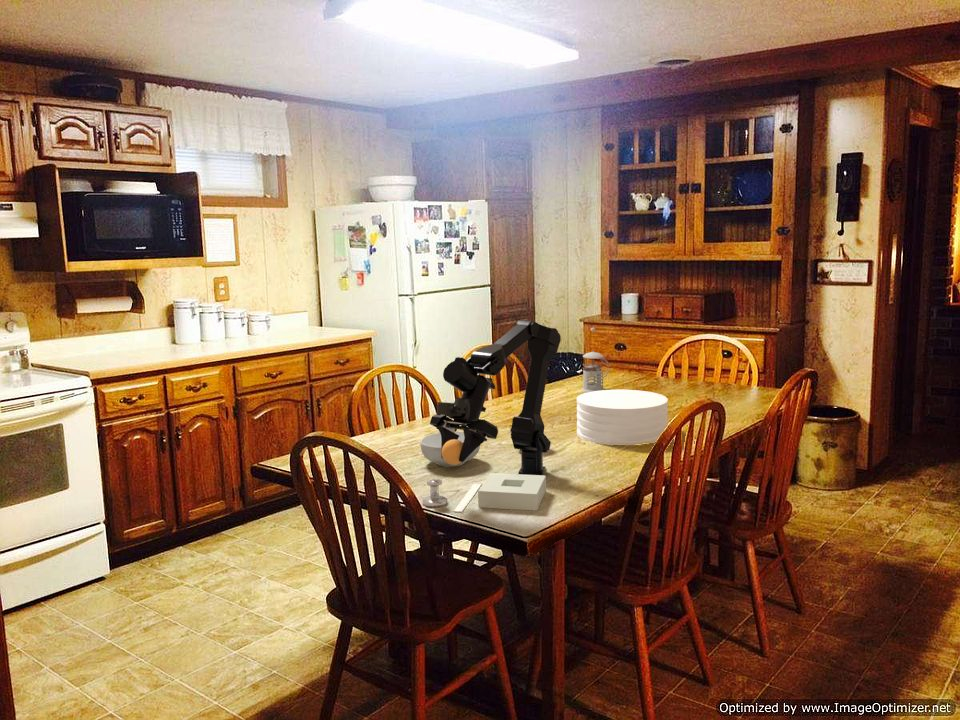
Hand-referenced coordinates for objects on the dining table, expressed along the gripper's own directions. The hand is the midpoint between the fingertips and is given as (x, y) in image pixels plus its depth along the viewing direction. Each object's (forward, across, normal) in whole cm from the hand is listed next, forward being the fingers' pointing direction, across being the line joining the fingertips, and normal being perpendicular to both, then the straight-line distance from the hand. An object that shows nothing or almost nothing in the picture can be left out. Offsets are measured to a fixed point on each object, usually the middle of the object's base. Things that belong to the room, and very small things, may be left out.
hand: (451, 460), depth 190 cm
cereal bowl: (-4, -28, +24) cm, 37 cm away
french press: (-63, -59, +111) cm, 140 cm away
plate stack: (-34, -11, +73) cm, 81 cm away
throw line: (+6, -2, +11) cm, 13 cm away
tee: (+10, -6, +4) cm, 12 cm away
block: (+3, +6, +18) cm, 19 cm away
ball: (-2, 0, 0) cm, 2 cm away
